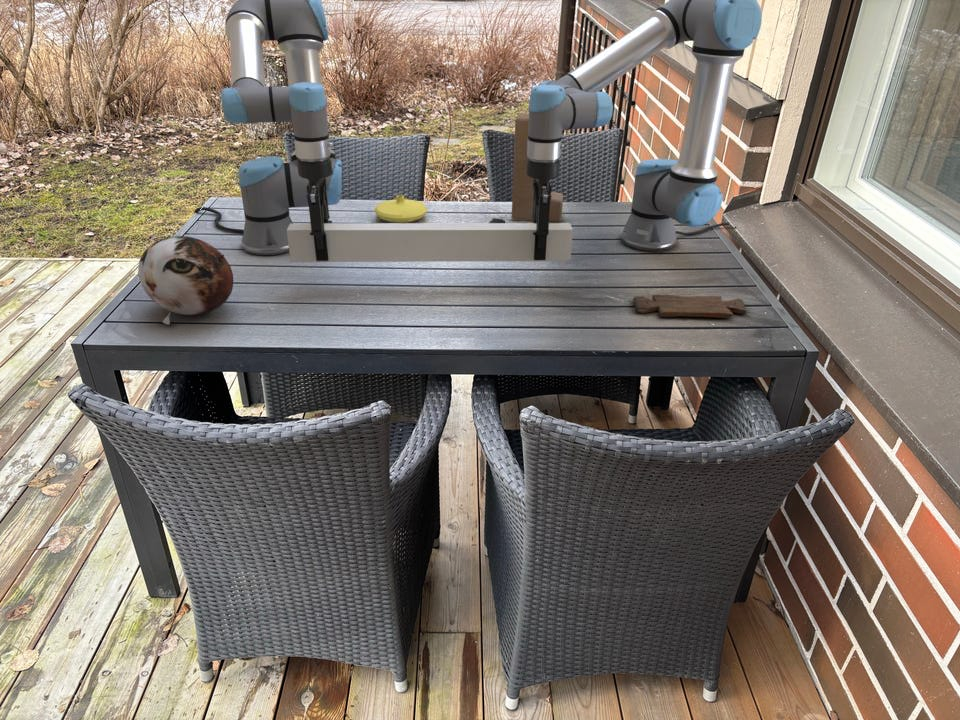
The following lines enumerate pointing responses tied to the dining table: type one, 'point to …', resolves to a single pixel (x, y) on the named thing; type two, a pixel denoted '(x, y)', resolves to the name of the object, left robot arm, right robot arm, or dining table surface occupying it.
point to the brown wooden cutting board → (689, 306)
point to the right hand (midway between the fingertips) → (538, 255)
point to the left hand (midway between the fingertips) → (323, 255)
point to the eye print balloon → (185, 276)
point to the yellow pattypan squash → (400, 210)
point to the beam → (429, 242)
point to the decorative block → (527, 178)
